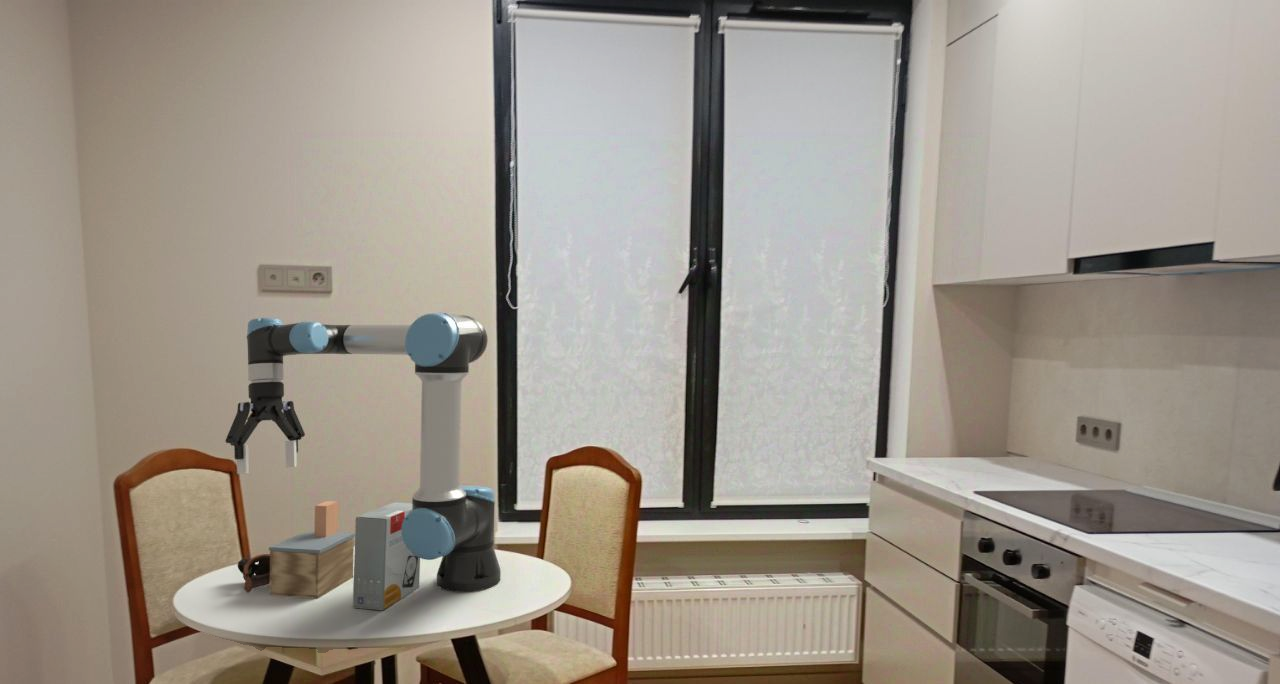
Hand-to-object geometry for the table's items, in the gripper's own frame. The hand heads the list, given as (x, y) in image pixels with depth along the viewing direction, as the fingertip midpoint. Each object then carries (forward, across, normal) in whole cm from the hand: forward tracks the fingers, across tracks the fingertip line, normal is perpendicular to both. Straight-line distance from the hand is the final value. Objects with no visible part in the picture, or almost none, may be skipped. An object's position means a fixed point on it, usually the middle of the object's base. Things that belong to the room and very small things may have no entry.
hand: (268, 470), depth 159 cm
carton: (+28, -4, +9) cm, 30 cm away
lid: (+18, -4, +10) cm, 21 cm away
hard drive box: (+31, -4, +30) cm, 43 cm away
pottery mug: (+27, 0, -3) cm, 27 cm away
